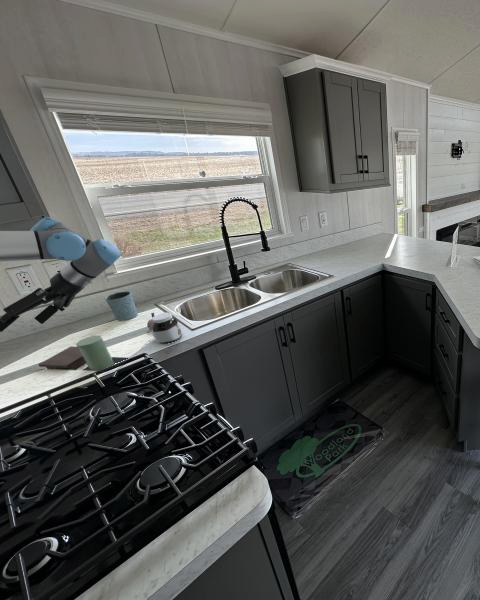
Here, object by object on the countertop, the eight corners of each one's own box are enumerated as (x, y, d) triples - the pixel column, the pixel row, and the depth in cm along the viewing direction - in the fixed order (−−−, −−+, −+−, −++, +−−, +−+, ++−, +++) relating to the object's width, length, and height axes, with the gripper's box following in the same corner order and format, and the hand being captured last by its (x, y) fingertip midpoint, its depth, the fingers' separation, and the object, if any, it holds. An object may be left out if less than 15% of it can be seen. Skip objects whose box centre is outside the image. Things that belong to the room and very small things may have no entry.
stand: (71, 374, 122) (66, 365, 120) (43, 373, 123) (38, 364, 121) (101, 355, 133) (96, 347, 131) (75, 354, 134) (70, 346, 132)
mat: (102, 379, 118) (102, 378, 118) (70, 378, 119) (70, 377, 119) (132, 358, 130) (132, 357, 129) (103, 357, 131) (102, 356, 131)
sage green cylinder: (102, 373, 121) (88, 346, 116) (85, 372, 122) (70, 345, 116) (119, 361, 127) (105, 335, 122) (102, 361, 128) (89, 335, 123)
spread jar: (175, 345, 138) (165, 320, 133) (146, 348, 136) (135, 324, 131) (187, 330, 148) (179, 307, 143) (160, 333, 147) (151, 310, 142)
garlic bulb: (158, 323, 156) (152, 308, 152) (171, 324, 154) (165, 309, 151) (144, 331, 149) (137, 316, 145) (158, 332, 148) (152, 317, 144)
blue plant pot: (129, 311, 169) (119, 290, 164) (145, 312, 167) (136, 291, 162) (109, 321, 160) (99, 299, 155) (126, 322, 158) (116, 300, 153)
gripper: (49, 290, 92) (-12, 341, 91) (109, 285, 117) (62, 325, 115) (25, 270, 91) (-37, 322, 89) (92, 269, 115) (43, 310, 114)
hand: (18, 324), depth 102 cm, fingers open, 13 cm apart
